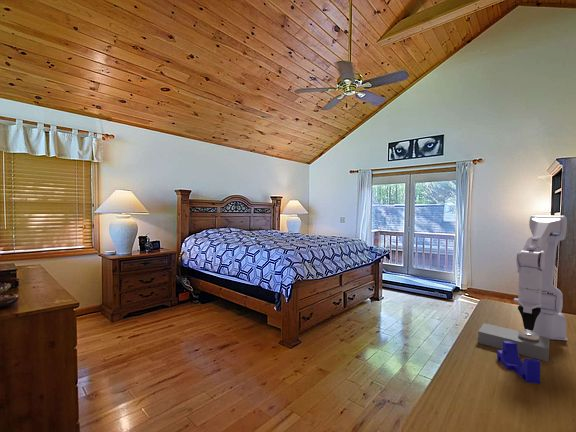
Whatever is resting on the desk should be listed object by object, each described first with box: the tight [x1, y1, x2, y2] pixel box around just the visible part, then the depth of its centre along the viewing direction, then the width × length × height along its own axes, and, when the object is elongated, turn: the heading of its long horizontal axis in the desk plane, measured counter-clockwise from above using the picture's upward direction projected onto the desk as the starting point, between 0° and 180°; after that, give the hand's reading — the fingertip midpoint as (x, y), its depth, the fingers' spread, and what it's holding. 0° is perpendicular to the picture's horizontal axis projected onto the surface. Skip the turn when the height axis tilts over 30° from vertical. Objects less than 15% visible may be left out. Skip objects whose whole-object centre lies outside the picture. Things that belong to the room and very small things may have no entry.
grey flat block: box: [477, 323, 550, 363], centre depth 98 cm, size 18×10×4 cm, turn 47°
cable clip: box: [496, 341, 541, 385], centre depth 83 cm, size 12×4×6 cm, turn 170°
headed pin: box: [518, 329, 539, 342], centre depth 95 cm, size 5×5×5 cm
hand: (528, 329), depth 95 cm, fingers closed
